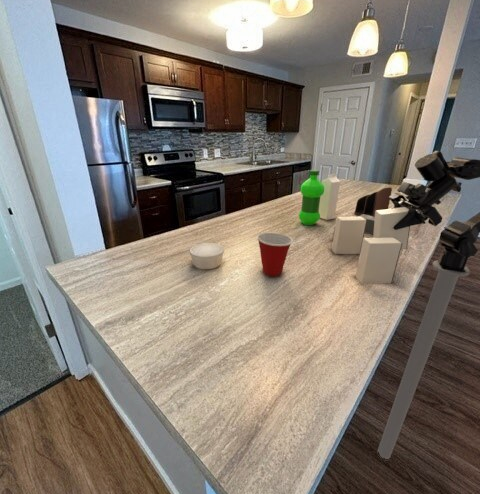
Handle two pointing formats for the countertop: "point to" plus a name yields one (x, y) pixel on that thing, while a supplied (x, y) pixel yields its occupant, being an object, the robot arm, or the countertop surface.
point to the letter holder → (373, 202)
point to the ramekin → (207, 255)
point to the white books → (366, 250)
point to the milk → (329, 197)
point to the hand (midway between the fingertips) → (390, 226)
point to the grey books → (367, 223)
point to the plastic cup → (273, 252)
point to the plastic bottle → (311, 199)
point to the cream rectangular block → (391, 225)
